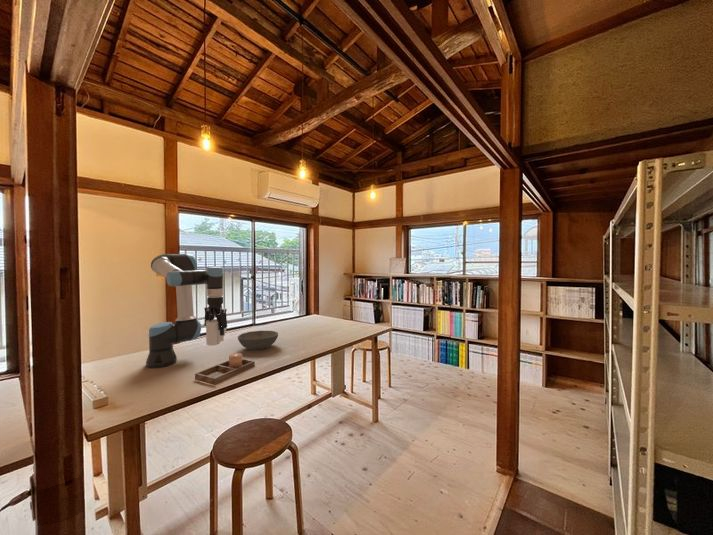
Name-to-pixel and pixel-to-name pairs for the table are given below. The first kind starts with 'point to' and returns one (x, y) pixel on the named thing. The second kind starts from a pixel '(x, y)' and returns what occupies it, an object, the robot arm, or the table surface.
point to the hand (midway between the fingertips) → (215, 340)
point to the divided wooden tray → (222, 371)
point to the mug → (212, 332)
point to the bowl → (257, 339)
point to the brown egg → (235, 360)
